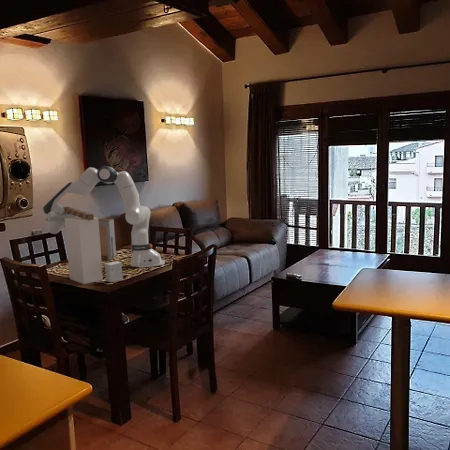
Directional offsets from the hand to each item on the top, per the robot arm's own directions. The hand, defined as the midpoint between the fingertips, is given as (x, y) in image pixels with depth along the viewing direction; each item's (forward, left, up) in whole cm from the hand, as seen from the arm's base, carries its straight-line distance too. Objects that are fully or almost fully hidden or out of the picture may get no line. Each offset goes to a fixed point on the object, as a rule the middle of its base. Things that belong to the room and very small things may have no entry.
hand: (68, 209), depth 286 cm
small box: (-26, +20, -42) cm, 53 cm away
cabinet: (-18, -48, -41) cm, 66 cm away
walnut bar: (-7, +10, -3) cm, 13 cm away
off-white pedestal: (-9, +13, -41) cm, 44 cm away
